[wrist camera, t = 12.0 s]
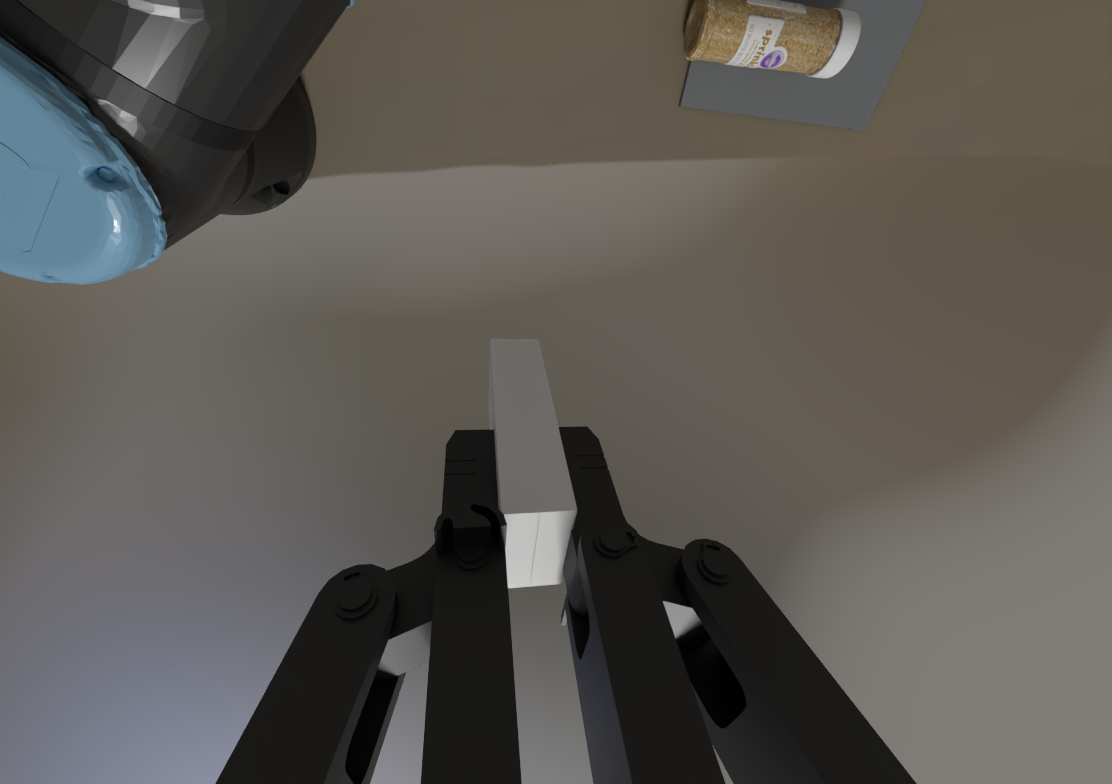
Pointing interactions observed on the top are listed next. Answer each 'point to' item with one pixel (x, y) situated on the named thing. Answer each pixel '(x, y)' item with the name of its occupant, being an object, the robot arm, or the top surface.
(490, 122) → the top surface
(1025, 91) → the top surface
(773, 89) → the mat
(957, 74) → the top surface
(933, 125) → the top surface
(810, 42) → the sprinkles bottle
